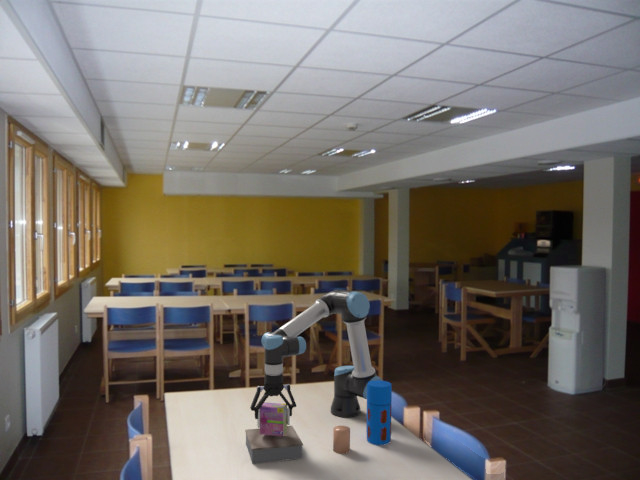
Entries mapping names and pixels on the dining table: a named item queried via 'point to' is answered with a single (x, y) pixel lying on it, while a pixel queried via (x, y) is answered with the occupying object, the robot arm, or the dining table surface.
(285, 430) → the box
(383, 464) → the dining table surface
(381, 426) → the thermos
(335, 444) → the tan rounded cylinder
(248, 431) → the podium
